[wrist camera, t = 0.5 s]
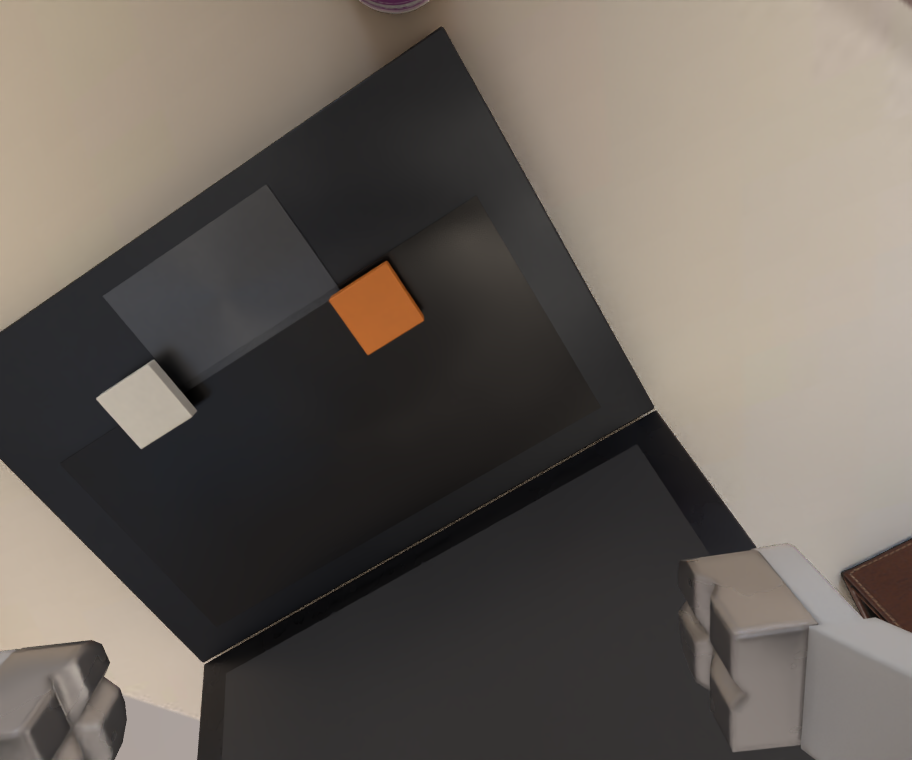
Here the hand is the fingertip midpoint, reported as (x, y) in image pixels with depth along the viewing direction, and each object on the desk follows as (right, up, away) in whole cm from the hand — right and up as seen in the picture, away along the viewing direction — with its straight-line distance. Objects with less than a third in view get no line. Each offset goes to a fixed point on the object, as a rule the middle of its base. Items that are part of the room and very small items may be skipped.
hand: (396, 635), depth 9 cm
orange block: (-3, +7, +23) cm, 24 cm away
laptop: (-7, +3, +26) cm, 27 cm away
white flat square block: (-14, +3, +24) cm, 28 cm away
